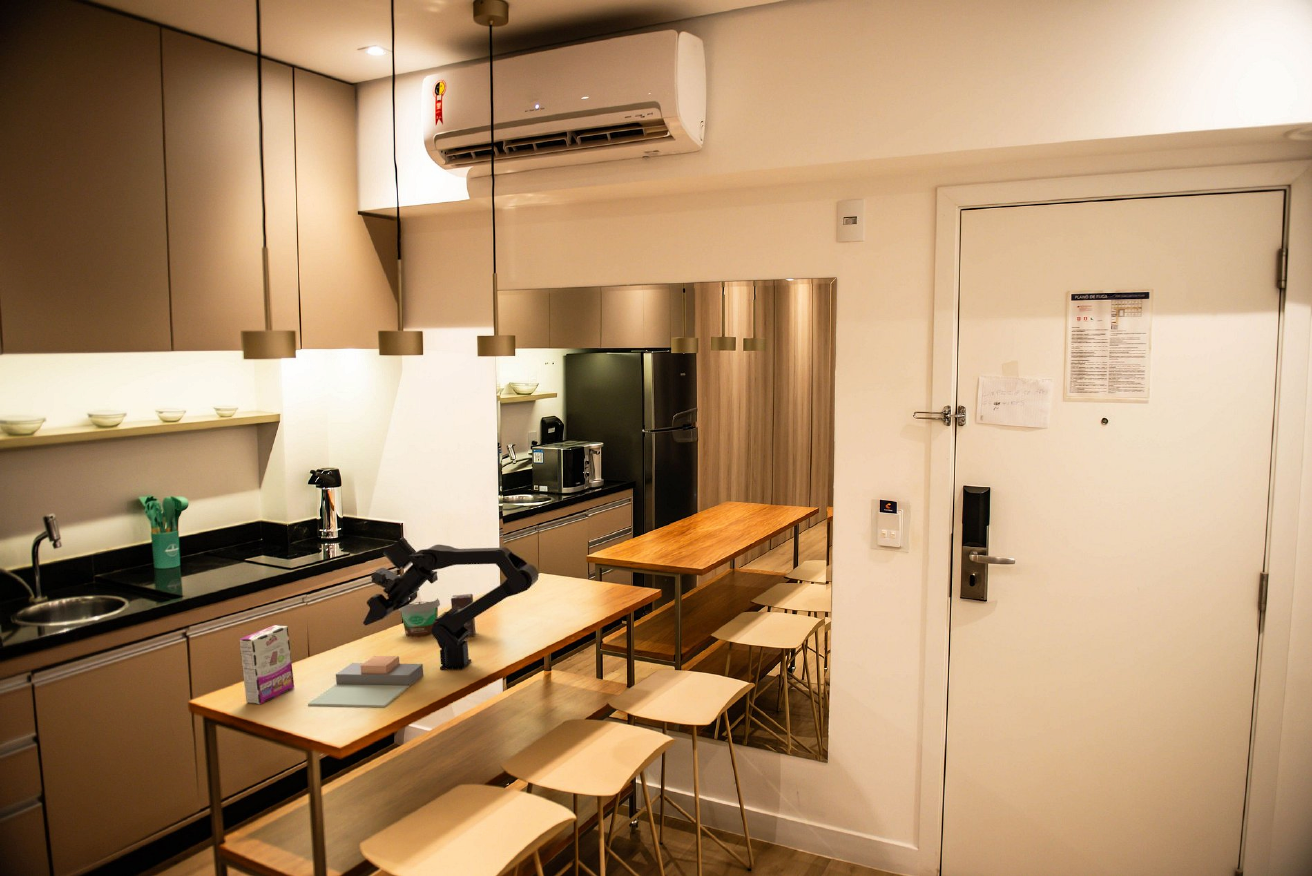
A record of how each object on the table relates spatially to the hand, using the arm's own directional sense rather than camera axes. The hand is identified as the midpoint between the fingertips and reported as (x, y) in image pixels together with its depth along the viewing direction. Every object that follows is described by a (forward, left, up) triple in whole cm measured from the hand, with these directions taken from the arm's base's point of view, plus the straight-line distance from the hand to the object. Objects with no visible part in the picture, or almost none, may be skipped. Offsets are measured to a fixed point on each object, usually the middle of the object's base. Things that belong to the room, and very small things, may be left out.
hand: (373, 619), depth 225 cm
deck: (-7, +10, -13) cm, 18 cm away
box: (-15, -26, -13) cm, 32 cm away
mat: (-7, +21, -13) cm, 25 cm away
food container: (-1, -26, -13) cm, 29 cm away
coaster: (-7, +10, -10) cm, 15 cm away
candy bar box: (+17, +21, -13) cm, 31 cm away
